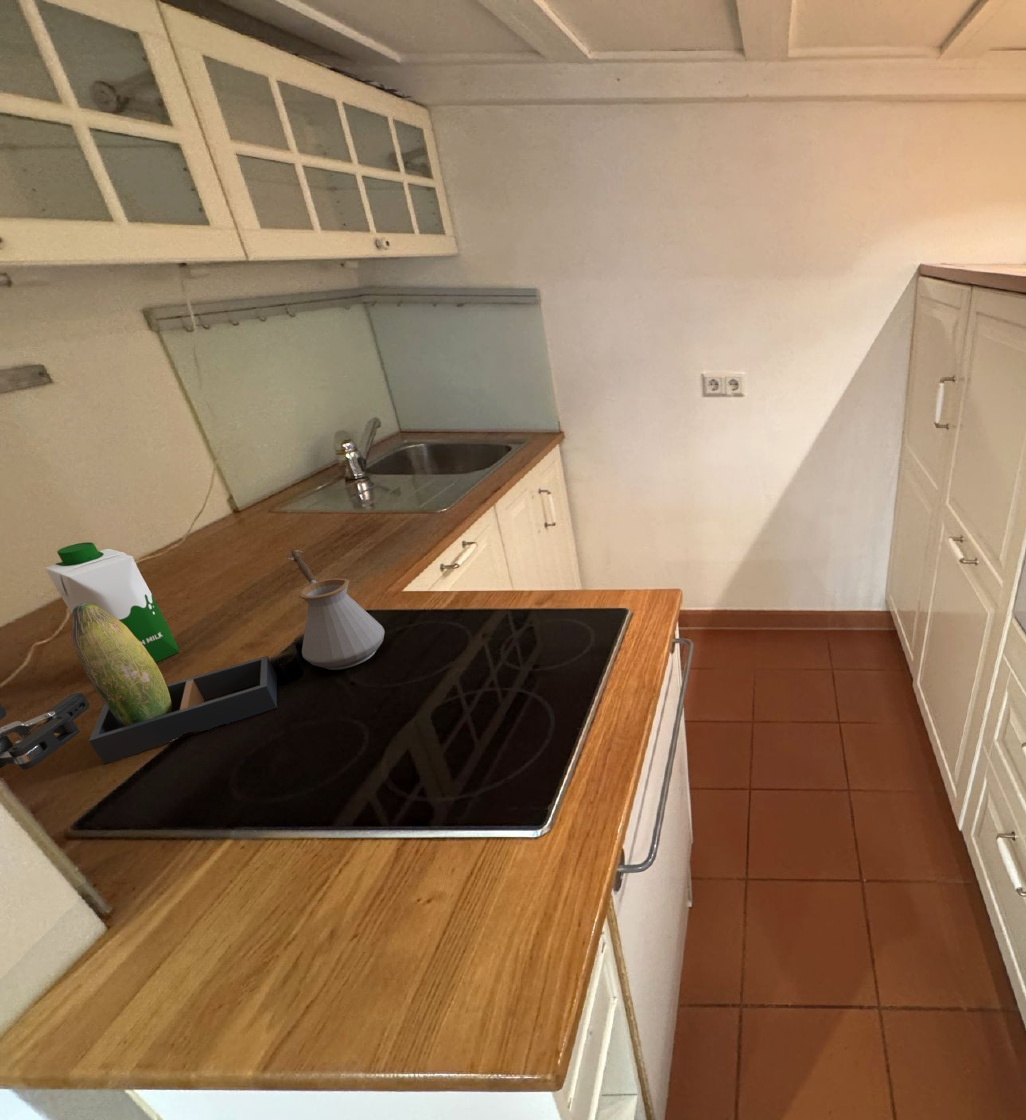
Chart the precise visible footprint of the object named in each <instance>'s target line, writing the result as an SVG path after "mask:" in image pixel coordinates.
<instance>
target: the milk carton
mask: <svg viewBox="0 0 1026 1120" xmlns="http://www.w3.org/2000/svg"><path fill="white" fill-rule="evenodd" d="M56 553H57V555H58V556H59V558H60V560H61V561H60V562H57V563H55V564H52V565H49V566H46V567H44V569H45V571H46V573H47V574H48V576H49V578H50V580H51V581H52V583H53V585H54V586H55V588H56V590H57V592H58V593H59V595H60V597H61V599H62V600H63V602H64V603H65V605H66V607H67V609H68V611H69V612H70V614H71V615H72V612H73V609H74V608H75V607H76V606H78V605H79V604H81V603H92V604H95V605H97V606H98V607H100V608H101V609H102V610H104V611H105V612H107V613H108V614H110V615H111V616H113V617H115V618H116V619H118V620H119V621H121V622H122V623H123V624H124V625H125V626H126V627H127V628H128V629H129V630H130V631H131V632H132V634H133V635H134V636H135V637H136V638H137V639H138V640H139V641H140V642H141V643H142V645H143V646H144V647H145V648H146V650H147V652H148V653H149V654H150V656H151V657H152V658H153V660H154V661H155V663H156V664H157V663H158V662H160V661H162V660H165V659H167V658H169V657H171V656H174V655H176V654H179V653H180V650H179V646H178V644H177V643H176V641H175V638H174V636H173V633H172V632H171V629H170V627H169V625H168V623H167V621H166V619H165V616H164V615H163V613H162V611H161V609H160V607H159V605H158V604H157V602H156V600H155V598H154V596H153V594H152V592H151V590H150V588H149V587H148V584H147V583H146V581H145V579H144V577H143V576H142V574H141V571H140V570H139V568H138V565H137V563H136V561H135V559H134V556H132V555H129V554H127V553H126V552H122V551H118V550H115V549H111V548H104V549H101V550H98V548H97V547H96V545H95V543H94V542H91V541H88V542H87V541H86V542H79V543H74V544H70V545H67V546H64V547H61V548H60V549H58V550H57V551H56Z"/></svg>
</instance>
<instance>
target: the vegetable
mask: <svg viewBox="0 0 1026 1120" xmlns="http://www.w3.org/2000/svg"><path fill="white" fill-rule="evenodd" d="M71 617H72V618H71V619H72V623H71V624H72V625H71V633H70V634H71V635H70V636H71V642H72V645H73V648H74V652H75V654H76V655H77V657H78V659H79V661H80V663H81V665H82V668H83V669H84V671H85V673H86V675H87V678H88V679H89V681H90V683H91V685H92V686H93V689H94V690H95V691H96V693H97V694H98V695H99V696H100V698H101V699H102V700H103V702H104V703H106V704H107V706H108V707H109V709H110V710H111V712H112V713H113V714H114V716H115V717H116V718H117V719H118V720H119V722H120V723H122V724H123V725H124V727H126V726H129V725H132V724H136V723H139V722H142V721H146V720H149V719H152V718H155V717H159V716H162V715H165V714H168V713H172V711H171V708H172V703H171V698H170V694H169V691H168V688H167V683H166V680H165V679H164V676H163V674H162V671H161V669H160V668H159V666H158V665H157V662H156V663H155V661H154V660H153V658H152V657H151V656H150V654H149V653H148V652H147V650H146V648H145V647H144V646H143V645H142V643H141V642H140V641H139V640H138V639H137V638H136V637H135V636H134V635H133V634H132V632H131V631H130V630H129V629H128V628H127V627H126V626H125V625H124V624H123V623H122V622H121V621H119V620H118V619H116V618H115V617H113V616H111V615H110V614H108V613H107V612H105V611H104V610H102V609H101V608H100V607H98V606H97V605H95V604H92V603H81V604H79V605H78V606H76V607H75V608H74V609H73V612H72V614H71Z"/></svg>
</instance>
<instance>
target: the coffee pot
mask: <svg viewBox="0 0 1026 1120" xmlns="http://www.w3.org/2000/svg"><path fill="white" fill-rule="evenodd" d="M299 552H300V553H301V555H299ZM289 555H291V556H292V557H293V558H290V557H289ZM303 555H304V553H303V551H302V550H295V549H291V550H290V552H288V553H287V554H286V558H287V559H288V560H289V561H290V560H291V561H294V563H296V564H297V567H298V569H299V571H300V572H301V573H302V575H303V576H304V577H305V578H306V580H307V581H308V582H309V584H308V585H306V586H305V587H303V588H302V589H300V590H299V593H298V596H299V598H301V599H302V600H304V601H306V603H307V607H308V608H307V612H306V620H305V626H304V632H303V633H304V634H303V641H302V648H301V654H302V658H303V659H304V660H305V661H307V663H310V664H311V665H312V666H316V667H320V668H324V669H326V670H337V671H338V670H344V669H349V668H352V667H355V666H357V665H360V664H362V663H364V662H366V661H367V660H369V659H371V658H372V657H373V656H374V655H375V654H376V652H377V650H378V649H379V648H380V646H381V645H382V644H383V642H384V637H385V631H386V630H385V629H384V627H383V625H381V623H379V622H378V621H377V620H376V619H375V618H374V617H373V616H372V615H371V614H370V613H368V612H367V611H366V610H365V609H364V608H363V606H361V605H360V604H359V603H357V602H356V601H355V600H354V599H353V598H352V597H351V596H350V595H349V594H347V592H348V587H349V584H350V579H347V578H341V577H340V578H335V577H334V578H328V579H323V580H318V581H317V580H316V578H315V576H314V574H313V572H312V571H311V568H310V567H309V565H308V564H307V563H306V562H305V561H304V560H303V557H302V556H303Z"/></svg>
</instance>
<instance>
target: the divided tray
mask: <svg viewBox="0 0 1026 1120" xmlns="http://www.w3.org/2000/svg"><path fill="white" fill-rule="evenodd" d="M166 685H167V688H168V691H169V694H170V698H171V703H172V708H171V713H168V714H165V715H162V716H159V717H155V718H152V719H149V720H146V721H142V722H139V723H136V724H132V725H129V726H126V727H125V726H124V725H123V724H122V723H120V722H119V720H118V719H117V718H116V717H115V716H114V714H113V713H112V712H111V710H110V709H109V707H108V706H107V704H106V703H105V702H104V703H103V705H102V708H101V710H100V712H99V715H98V718H97V719H96V722H95V725H94V727H93V728H92V729H93V730H92V732H91V734H90V737H89V738H88V742H89V744H90V745H91V747H92V748H93V750H94V751H95V754H97V756H98V758H99V759H100V761H101V762H102V764H103V765H106V764H105V763H107V764H109V763H112V762H116V761H118V760H121V759H125V758H128V757H131V756H133V755H137V754H141V753H143V752H147V751H150V750H152V748H153V749H156V748H159V747H162V746H165V745H166V744H165V743H168V742H170V741H172V740H173V739H176V738H178V737H179V736H181V735H183V734H186V733H188V732H196V731H200V730H204V729H208V728H214V727H217V726H219V725H223V724H226V725H229V724H232V723H235V722H239V721H242V720H245V719H248V718H251V717H254V716H257V715H261V714H263V713H266V712H269V711H272V710H275V709H278V675H277V673H276V671H275V668H274V667H273V665H272V662H271V660H270V658H269V656H268V655H265V656H261V657H258V658H253V659H251V660H247V661H244V662H240V663H237V664H234V665H230V666H227V667H223V668H220V669H216V670H213V671H212V670H211V671H209V672H205V673H202V674H199V675H195V676H192V677H188V678H184V679H181V680H178V681H174V682H171V683H166ZM254 685H255V686H254ZM251 686H252V687H251ZM241 689H242V690H241ZM238 720H239V721H238ZM234 721H235V722H234ZM231 722H232V723H231ZM223 726H224V725H223ZM217 728H218V727H217ZM214 729H215V728H214ZM164 744H165V745H164ZM168 744H169V743H168ZM161 745H162V746H161ZM158 746H159V747H158ZM155 747H156V748H155Z"/></svg>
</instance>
